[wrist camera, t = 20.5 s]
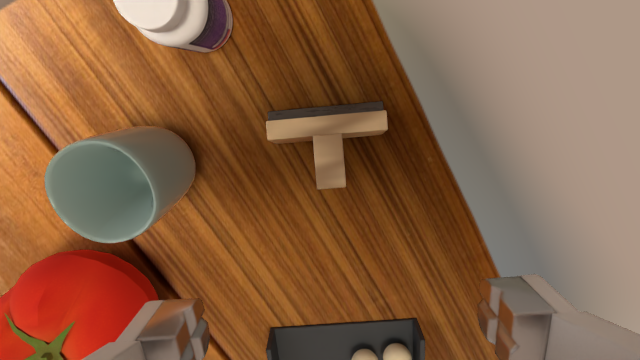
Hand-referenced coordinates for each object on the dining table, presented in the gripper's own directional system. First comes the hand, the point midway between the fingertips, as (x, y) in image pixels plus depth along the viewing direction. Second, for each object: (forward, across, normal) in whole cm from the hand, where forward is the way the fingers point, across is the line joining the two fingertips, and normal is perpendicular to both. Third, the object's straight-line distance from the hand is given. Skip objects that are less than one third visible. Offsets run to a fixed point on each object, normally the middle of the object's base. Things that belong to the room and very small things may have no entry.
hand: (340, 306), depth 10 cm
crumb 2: (+21, -6, +25) cm, 33 cm away
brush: (+21, 0, -4) cm, 22 cm away
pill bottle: (+23, +10, -12) cm, 28 cm away
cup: (+23, +16, 0) cm, 28 cm away
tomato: (+23, +26, +15) cm, 38 cm away
